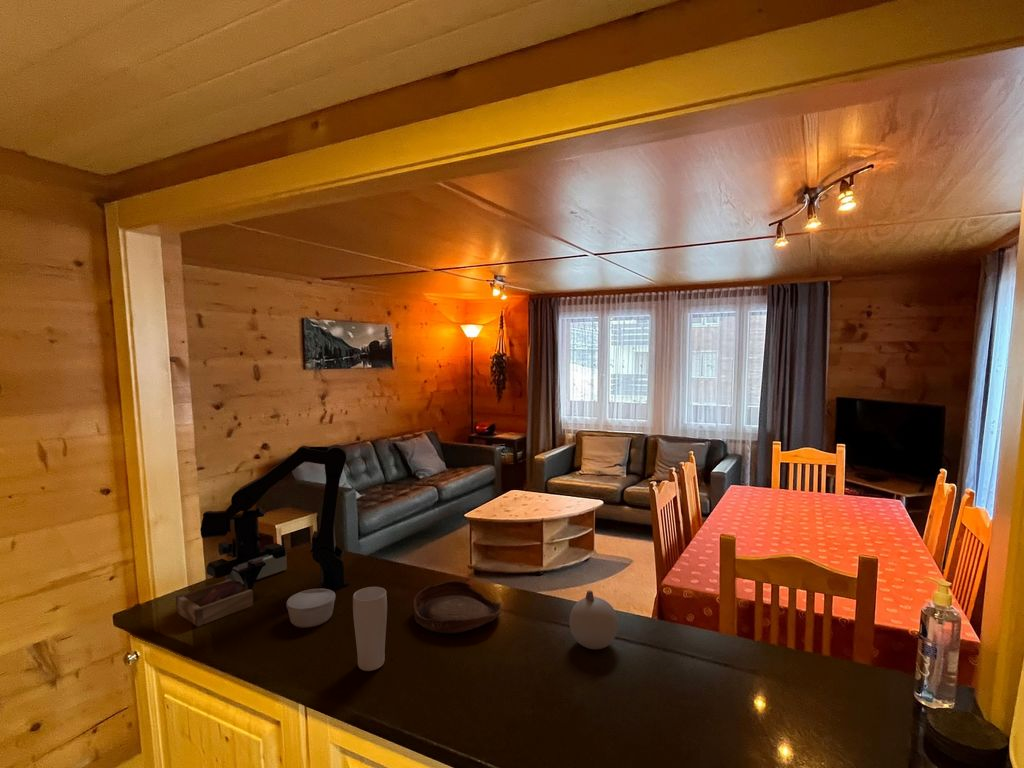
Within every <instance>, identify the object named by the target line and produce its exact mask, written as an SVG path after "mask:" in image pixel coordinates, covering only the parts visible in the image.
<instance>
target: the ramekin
mask: <svg viewBox="0 0 1024 768" xmlns="http://www.w3.org/2000/svg"><path fill="white" fill-rule="evenodd" d="M335 601H336V593H335V592H334V591H331V590H328V589H320V588H311V589H307V590H302V591H299V592H297V593H295V594H292V595H291V596H290V597H289V598H288V599H287V601H286V605H285V606H286V609H287V612H288V617H289V621H290V622H291V624H292V625H293V626H295V627H297V628H302V629H303V628H312V627H317V626H320V625H323V624H325V623H326V622H327V621H328V620H330V618H331V617H332V615H333V613H334V612H333V611H334V607H335V606H334V605H335Z"/></svg>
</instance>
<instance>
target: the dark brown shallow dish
mask: <svg viewBox="0 0 1024 768" xmlns="http://www.w3.org/2000/svg"><path fill="white" fill-rule="evenodd" d="M502 608H503V607H502V604H501V602H498V603H496V602H495V601H491V600H490V599H488V598H487V597H485V596H484V595H483V594H482V593H480V592H479V591H477V590H476V589H474V588H473V587H472V585H471V584H469V583H466V582H464V581H462V580H461V581H460V580H447V581H445V582H440V583H437V584H434V585H432V584H431V585H428V586H426V587H425V588H423V589H421V590H420V591H419V592H418V593H417V594H416V595H415V596H414V598H413V605H412V609H413V617H414V619H415V622H416V623H417V624H419V626H420V627H422V628H425V629H426V630H428V631H431V632H434V633H438V634H439V633H442V634H459V633H464V632H468V631H470V630H473V629H477V628H479V627H481V626H483V625H485V624H489V623H491V622H492V621H494V620H496V619H497V618H498V617H499V615H500V614H501V612H502V610H503V609H502Z"/></svg>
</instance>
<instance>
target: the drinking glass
mask: <svg viewBox="0 0 1024 768" xmlns="http://www.w3.org/2000/svg"><path fill="white" fill-rule="evenodd" d="M387 598H388V596H387V590H386V589H385V588H383V587H380V586H367V587H363V588H361V589H358V590H356V591H355V592H354V593H353V595H352V615H353V617H352V618H353V626H354V634H355V643H356V652H357V653H356V654H357V666H358V668H359V669H360V670H362V671H365V672H371V671H376V670H378V669H379V668H381V667H382V666H384V663H385V659H386V658H385V657H386V656H385V653H386V652H385V651H386V648H385V647H386V635H387V633H386V632H387V617H388V600H387Z"/></svg>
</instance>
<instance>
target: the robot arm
mask: <svg viewBox="0 0 1024 768" xmlns="http://www.w3.org/2000/svg"><path fill="white" fill-rule="evenodd" d="M347 451H348V450H347V449H346V448H345V447H344V446H343V445H341V444H333V445H331V446H308V445H301V446H299V447H298V448H297V449H296V451H294V452H293V453H291V454H290V455H288V457H286V458H285V459H283V460H282V461H280V462H279V463H278V464H277V465H276V466H274V467H273V468H271V469H270V470H269V471H268V472H267V473H265V474H264V475H262V476H261V477H258V478H257V479H254V480H252V481H250V482H249V483H246V484H244V485H243V486H241V487H239V488H238V489H237V491H235V492H234V493H233V495H232V496H231V499H230V500H231V501H230V502H231V504H230V505H229V506H228V507H227V508H226V509H225V510H215V511H212V510H208V511H207V510H206V511H204V512H203V513H202V520H201V526H200V536H201V538H202V539H209V538H219V537H227V536H229V533H232V532H233V530H234V537H232V539H231V541H232V542H231V543H229V542H228V541H227V540H226V541H223V542H219V543H218V545H217V546H218V548H217V549H218V554H219V556H223V555H226V557H227V558H228V557H231V558H233V559H231V560H227V559H224V558H219V559H217V560H214V561H211V562H209V563H208V564H207V565H206V569H205V570H206V575H208V576H210V577H212V578H214V579H219V578H223V577H225V576H226V575H229V574H230V573H231V572H232V570H233V571H235V572H237V573H238V574H239V575H240V577H241V578H242V581H243V583H244V584H243V586H244V587H245V588H246V591H247V590H249V589H251V590H253V587H254V585H255V583H256V581H257V580H258V579H257V576H258V575H259V573H260V571H261V569H262V567H263V566H265V565H266V563H265V562H263V558H265V557H268V556H271V555H272V557H274V558H275V559H278V558H281V557H284V556H286V557H287V548H286V547H285V546H284V545H282V544H280V543H277V542H273V543H270V544H266V545H263V546H262V548H261V550H260V542H261V541H262V537H261V536H260V534H259V533H260V531H259V530H260V529H259V518H263V517H264V516H265V515H266V514H267V511H266V510H265V509H263V508H262V507H261V506H259V505H258V506H257V508H255V509H252V508H253V507H254V505H256V503H258V501H259V500H261V498H262V497H263V496H264V495H265V494H266V492H267V491H269V490H270V489H271V488H272V487H274V485H276V484H277V483H279V482H280V481H281V480H282V479H284V478H285V477H286V476H288V475H289V474H290V473H292V472H293V471H294V470H296V469H297V468H298V467H299V466H301V465H303V463H311V464H317V465H324V473H325V486H324V494H323V502H322V509H321V510H322V511H321V518H320V527H319V531H316V530H314V531H313V533H312V535H311V547H310V550H309V553H311V554H312V560H314V561H315V562H316V563H318V564H319V566H320V583H318V584H316V588H317V589H328V590H331V591H333V592H334V591H336V590H339V589H341V588H344V587H346V586H348V585H350V582H349V581H346V580H345V565H344V563H343V562H344V561H343V560H344V552H345V551H344V550H343V549H342V548H341V547H339V546H338V545H337V544H336V533H335V531H336V530H335V520H336V514H337V513H336V512H337V505H338V497H339V488H340V480H341V477H342V474H343V471H344V468H345V465H346V461H347V457H348V452H347ZM240 512H242V513H240ZM256 579H257V580H256Z"/></svg>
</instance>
